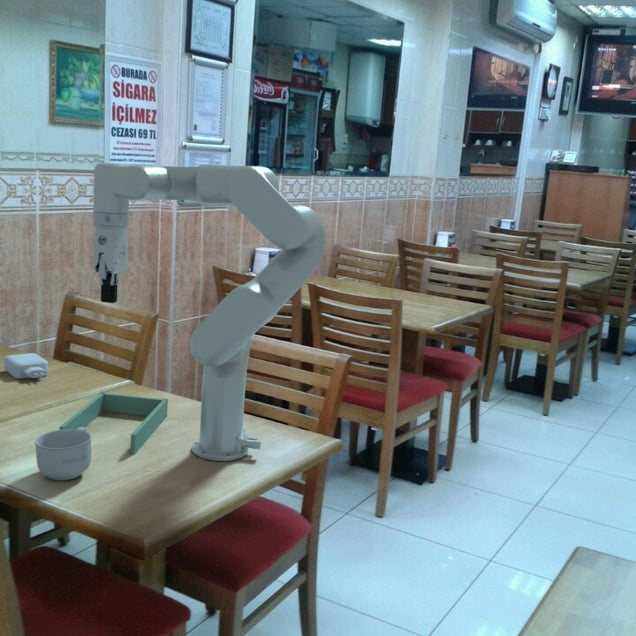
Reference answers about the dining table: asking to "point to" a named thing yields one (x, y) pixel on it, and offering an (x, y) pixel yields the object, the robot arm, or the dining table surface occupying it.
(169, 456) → the dining table surface
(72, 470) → the teacup
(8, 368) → the charger
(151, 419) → the green u-shaped border
